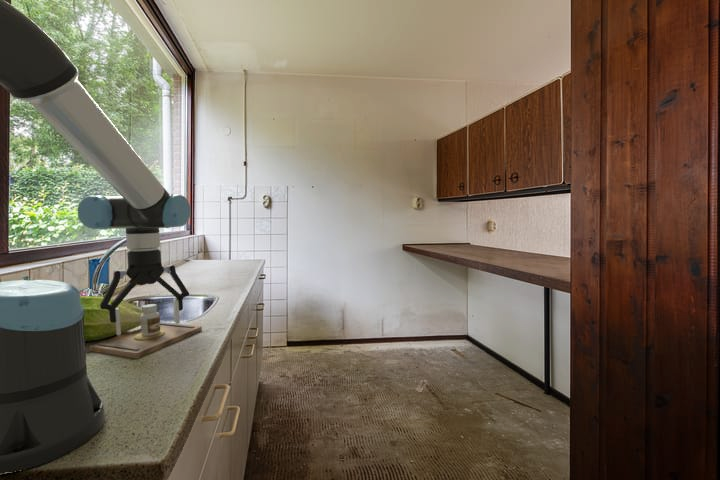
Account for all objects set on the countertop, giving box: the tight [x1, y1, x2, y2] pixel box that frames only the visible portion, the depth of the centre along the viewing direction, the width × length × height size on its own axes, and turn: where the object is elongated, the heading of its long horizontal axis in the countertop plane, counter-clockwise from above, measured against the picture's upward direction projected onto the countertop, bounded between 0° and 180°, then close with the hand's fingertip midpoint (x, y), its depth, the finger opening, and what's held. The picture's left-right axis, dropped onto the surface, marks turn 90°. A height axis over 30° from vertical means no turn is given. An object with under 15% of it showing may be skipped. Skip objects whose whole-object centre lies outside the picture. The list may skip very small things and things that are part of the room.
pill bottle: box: [140, 303, 161, 336], centre depth 92 cm, size 4×4×8 cm
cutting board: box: [89, 321, 203, 359], centre depth 92 cm, size 20×16×2 cm
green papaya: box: [80, 295, 143, 342], centre depth 94 cm, size 13×22×14 cm
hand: (149, 328), depth 91 cm, fingers open, 13 cm apart
